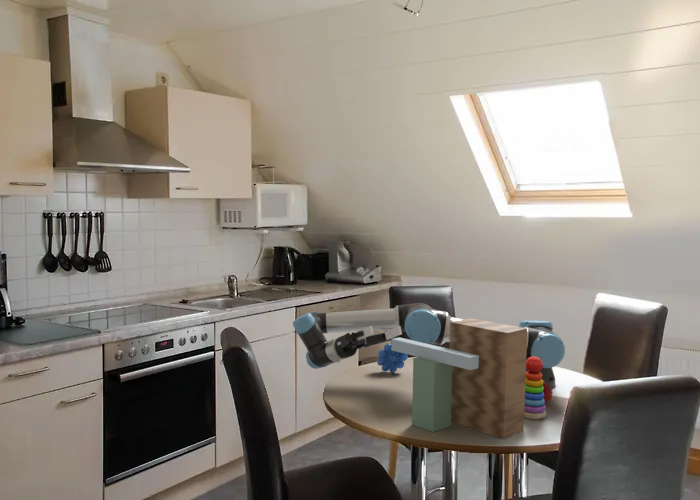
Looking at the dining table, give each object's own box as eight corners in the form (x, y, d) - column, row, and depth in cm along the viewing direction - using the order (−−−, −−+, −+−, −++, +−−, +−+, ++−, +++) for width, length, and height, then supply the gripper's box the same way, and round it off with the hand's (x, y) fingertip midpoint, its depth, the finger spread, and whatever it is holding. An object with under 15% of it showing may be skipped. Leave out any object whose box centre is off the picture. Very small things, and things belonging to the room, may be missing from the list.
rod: (391, 350, 198) (391, 338, 197) (399, 348, 200) (399, 337, 200) (470, 370, 176) (471, 357, 175) (478, 368, 178) (478, 355, 178)
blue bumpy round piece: (408, 370, 249) (408, 340, 248) (406, 375, 243) (407, 344, 242) (378, 368, 251) (379, 338, 250) (376, 373, 245) (376, 342, 244)
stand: (447, 420, 194) (450, 322, 192) (467, 412, 201) (470, 318, 198) (503, 438, 180) (507, 333, 177) (523, 430, 186) (527, 328, 184)
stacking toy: (515, 411, 203) (517, 353, 201) (540, 411, 203) (542, 353, 202) (524, 420, 195) (526, 359, 193) (550, 420, 195) (552, 359, 194)
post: (411, 424, 190) (413, 358, 188) (429, 418, 195) (431, 354, 194) (432, 432, 184) (434, 363, 182) (450, 425, 189) (452, 359, 188)
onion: (552, 402, 212) (553, 379, 211) (551, 408, 207) (552, 383, 206) (533, 400, 214) (534, 377, 213) (532, 405, 208) (533, 381, 208)
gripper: (369, 357, 226) (414, 341, 212) (316, 360, 208) (361, 342, 195) (364, 337, 228) (409, 319, 214) (312, 337, 210) (356, 318, 197)
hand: (386, 330), depth 204 cm, fingers open, 13 cm apart
